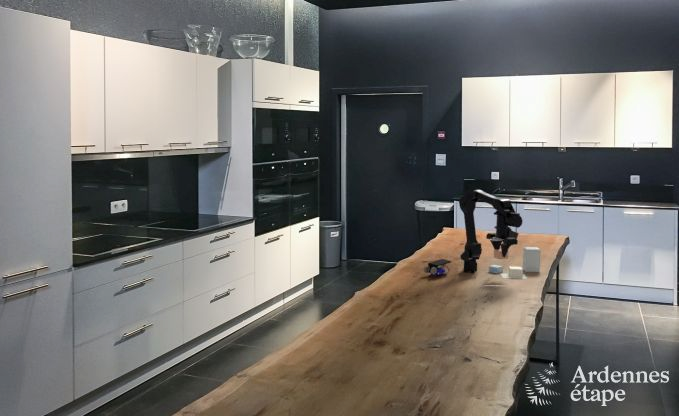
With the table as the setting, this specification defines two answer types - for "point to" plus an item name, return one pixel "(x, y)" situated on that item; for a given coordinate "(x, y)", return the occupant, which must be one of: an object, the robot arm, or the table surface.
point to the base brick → (515, 271)
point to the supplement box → (531, 259)
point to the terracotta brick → (499, 254)
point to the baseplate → (512, 277)
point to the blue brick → (495, 269)
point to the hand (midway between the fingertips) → (500, 255)
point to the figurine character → (434, 268)
